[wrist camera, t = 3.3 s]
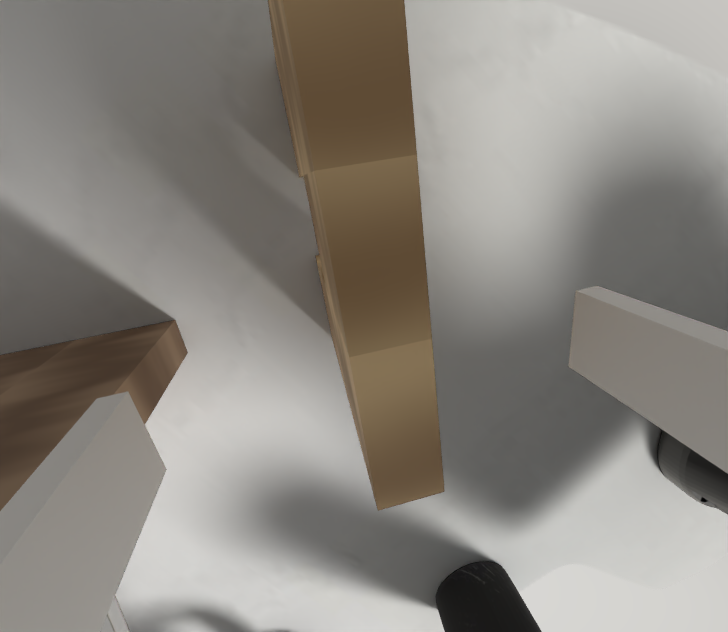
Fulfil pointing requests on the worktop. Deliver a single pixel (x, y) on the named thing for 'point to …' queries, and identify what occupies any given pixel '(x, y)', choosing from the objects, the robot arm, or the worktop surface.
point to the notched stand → (76, 390)
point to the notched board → (366, 224)
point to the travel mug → (482, 601)
